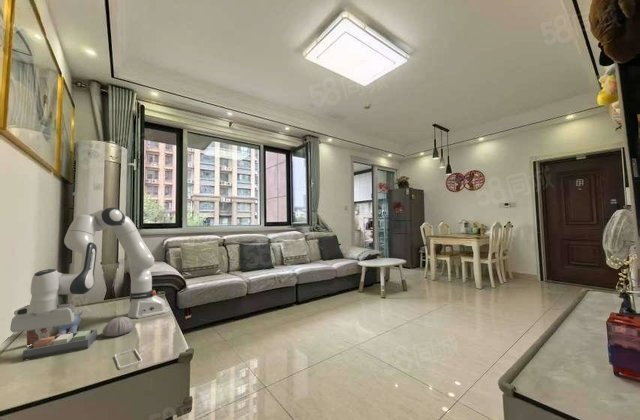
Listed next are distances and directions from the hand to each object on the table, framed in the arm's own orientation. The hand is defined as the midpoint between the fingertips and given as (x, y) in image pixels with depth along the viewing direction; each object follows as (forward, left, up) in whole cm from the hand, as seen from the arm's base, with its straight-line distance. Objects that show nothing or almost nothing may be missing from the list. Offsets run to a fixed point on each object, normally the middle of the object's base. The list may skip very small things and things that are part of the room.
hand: (43, 337), depth 118 cm
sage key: (-13, 0, -3) cm, 14 cm away
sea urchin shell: (-26, -8, -6) cm, 28 cm away
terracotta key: (0, 0, -3) cm, 3 cm away
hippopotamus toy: (+1, -26, -6) cm, 27 cm away
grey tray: (-7, 0, -6) cm, 9 cm away
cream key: (-7, 0, -3) cm, 7 cm away
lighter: (+6, -13, -6) cm, 16 cm away
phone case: (-36, +29, -7) cm, 47 cm away
